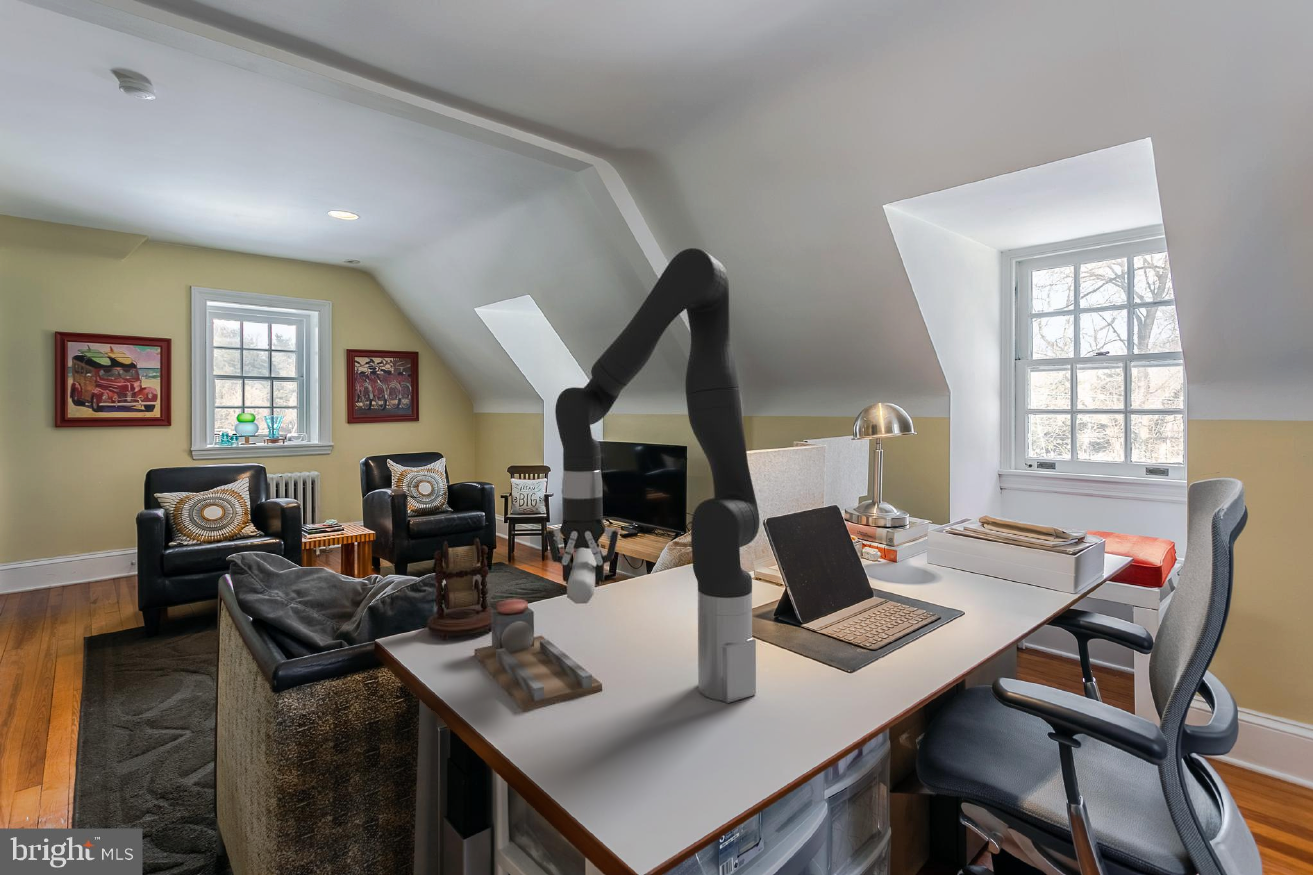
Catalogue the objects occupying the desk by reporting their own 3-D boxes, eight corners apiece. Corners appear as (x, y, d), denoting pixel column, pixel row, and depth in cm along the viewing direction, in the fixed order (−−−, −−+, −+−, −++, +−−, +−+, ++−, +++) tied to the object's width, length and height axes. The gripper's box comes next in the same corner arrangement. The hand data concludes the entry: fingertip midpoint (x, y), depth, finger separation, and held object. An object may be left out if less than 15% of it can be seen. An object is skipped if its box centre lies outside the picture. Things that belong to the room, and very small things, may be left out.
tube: (599, 583, 109) (602, 549, 134) (569, 573, 108) (578, 542, 133) (590, 612, 109) (594, 573, 134) (559, 603, 109) (570, 566, 133)
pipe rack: (602, 690, 110) (601, 634, 109) (523, 711, 103) (522, 651, 102) (540, 640, 134) (540, 594, 134) (473, 654, 127) (472, 605, 126)
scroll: (488, 615, 151) (486, 531, 150) (505, 634, 138) (503, 542, 137) (422, 625, 144) (420, 537, 143) (433, 646, 131) (431, 550, 130)
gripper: (622, 491, 124) (623, 578, 125) (548, 491, 124) (550, 578, 125) (618, 496, 116) (619, 589, 117) (540, 496, 117) (541, 589, 118)
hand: (583, 583), depth 121 cm, fingers closed on tube, 5 cm apart
